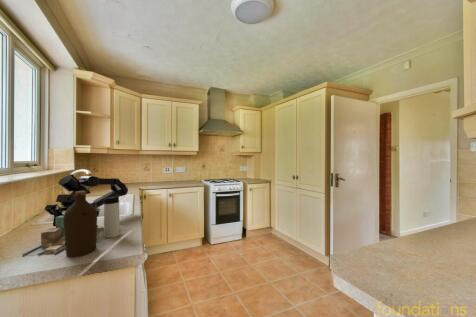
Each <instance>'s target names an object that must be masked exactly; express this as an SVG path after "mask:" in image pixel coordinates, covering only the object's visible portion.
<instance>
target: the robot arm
mask: <svg viewBox="0 0 476 317" xmlns="http://www.w3.org/2000/svg"><path fill="white" fill-rule="evenodd" d="M57 185H60V187H62V188H63V189H64V190H66V191H67V192H71V193H70V194H57V196H56V200H55V202H56V203H60V205H61V206H60V205H58V204H46V206H45V207H44V209H43V210H44V211H45V212H47V213H48V214H49V215H50V216H53V221H52V226H53V228H56V219H55V217H58V216H61V215H64V213H63V212H66V210H67V209H68V208H69V207H70V206H71V205H72V204H73V203H74V202H75V195H76V194H75V192H77V191H85V194H86V195H90V194H91V191H90V188H91V187H92V188H93V187H98V186H100V185H101V186H102V185H110V191H109V192H108V193H105V194H103V195H101V196H99V197H97V198H96V199H94V200H86V201H87V202H89V203H90V204H91V205H93V206H94V207H95V208H96V210H97V217H99V215H100V211H98V209H99V208H100V207H102V206H104V198H105V197H107V196H112V195H116V194H118V195H119V198H120V197H123V196H126V195H128V192H129V189H128V187H127V186H126V184H125V183H123V182H122V181H121V180H120V178H117V177H112V178H110V177H109V178H106V177H105V178H104V177H103V178H100V177H98V176H94V175H83V176H80V177H79V178H77V177H76V176H75V175H74V174H73V173H72V174H71V173H70V174H69V173H68V174H67V175H66V176H64V177H62V178H60V179H59V181H58V184H57ZM87 187H89V188H87ZM97 227H98V224H97Z"/></svg>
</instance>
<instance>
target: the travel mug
mask: <svg viewBox="0 0 476 317" xmlns="http://www.w3.org/2000/svg"><path fill="white" fill-rule="evenodd" d="M120 224H121V223H120V197H119V195H118V194H116V195H112V196H107V197H105V198H104V205H103V227H104V229H103V231H104V234H103V235H104V238H105V239H111V238H116V237H118V236H120V234H121V232H120V230H121V227H120Z"/></svg>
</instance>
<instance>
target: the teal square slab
mask: <svg viewBox="0 0 476 317" xmlns="http://www.w3.org/2000/svg"><path fill="white" fill-rule="evenodd" d="M63 217H64V214H63V215H61V216H58V217H55V219H56V226H55V228H62V239H60V240H58V241H57V242H55V243H47V244H40V245H41V248H42V247H50V246H52V245H54V244H56V243H58V242H60V241H62V240H64V239H65V232H64V222H63Z"/></svg>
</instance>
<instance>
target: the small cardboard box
mask: <svg viewBox="0 0 476 317" xmlns="http://www.w3.org/2000/svg"><path fill="white" fill-rule="evenodd" d="M61 248H63V245H56V246H51V247H49V248H47V249H45V254H47V253H54V252H56V251H58V250H59V249H61Z"/></svg>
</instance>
